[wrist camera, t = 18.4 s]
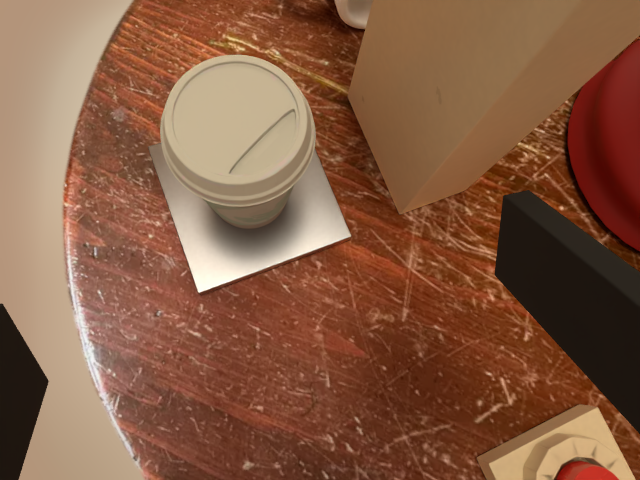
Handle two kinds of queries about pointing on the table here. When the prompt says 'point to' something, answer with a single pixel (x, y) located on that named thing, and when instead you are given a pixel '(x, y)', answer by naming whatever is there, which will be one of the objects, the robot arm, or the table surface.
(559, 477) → the red push button
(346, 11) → the mug
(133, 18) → the table surface
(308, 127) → the coffee cup
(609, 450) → the control block
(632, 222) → the table lamp
